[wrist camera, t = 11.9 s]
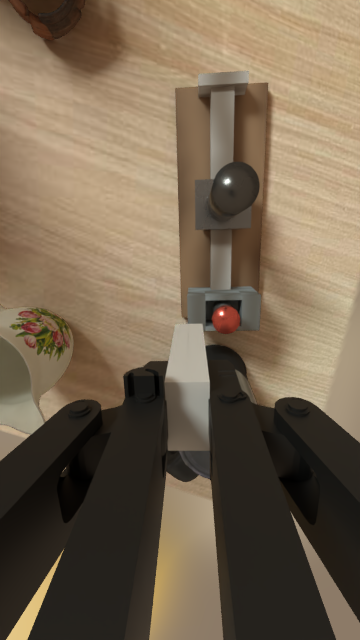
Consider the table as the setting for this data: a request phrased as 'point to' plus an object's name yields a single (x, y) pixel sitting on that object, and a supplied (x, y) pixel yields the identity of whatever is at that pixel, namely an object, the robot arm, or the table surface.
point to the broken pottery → (52, 18)
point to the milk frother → (198, 462)
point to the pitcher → (30, 363)
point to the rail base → (200, 170)
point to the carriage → (226, 198)
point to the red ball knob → (225, 317)
